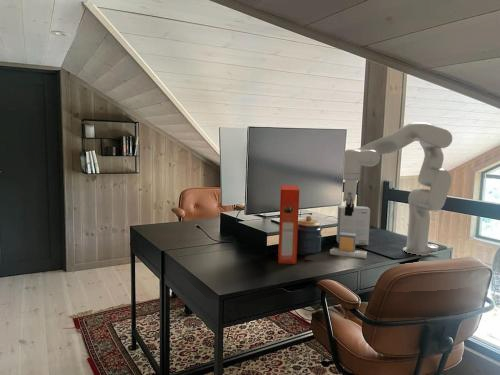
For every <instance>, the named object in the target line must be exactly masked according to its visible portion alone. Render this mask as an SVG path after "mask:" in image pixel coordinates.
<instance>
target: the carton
mask: <svg viewBox="0 0 500 375" xmlns="http://www.w3.org/2000/svg"><path fill="white" fill-rule="evenodd" d="M355 241H356V234H354V233H345V232H341V233H340V236H339V243H338V248H339V250H342V251H350V252H355V250H356V244H355Z"/></svg>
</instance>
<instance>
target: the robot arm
mask: <svg viewBox="0 0 500 375" xmlns="http://www.w3.org/2000/svg"><path fill="white" fill-rule="evenodd" d="M414 142H419V144H420V146H421V148H422V149H423V152H424V158H423V161H422V165H421V167H420V171H419V174H418V176H417V182H418V183H419V185H421V186H422V187H425V188H414V189H412V190H411V191H410V193H409V194H408V199H407V200H408V225H407V236H406V246H405V247H403V248H402V251H403V252H404V251H405V252H407V254H408V253H411V254H410V255H412V254H416V255H415V256H419V255H421V256H422V257H425V256H426V257H427V256H430V255H431V251H432V252H436V253H437V252H439V247H437V246H436V247H435V246H430V245H429V232H430V225H431V224H430V222H431V214H430V212H438V211H441V209H442V208H443V207H444V206H445V203H446V200H447V198H448V194H449V192H450V188H451V185H452V174H451V173H450V172H449V170H447V169H445V168H442V167H443V162H444V153H443V150H442V149H445V148H448V147H449V146H450V145H451V144H452V142H453V135H452V133H451V132H450V131H449V130H448V129H445V128H442V127H439V126H436V125H433V124H431V123H427V122H410V123H408V124H406V125H405V124H404V126H402V127H400V128H398V129H397V130H395V131H393V132H391V133H389V134H388V135H386V136H383V137H380V138H378V139H376V140H373V141H370V142H368V143H367V144H364V145H362V146H361V147H359V148H358V149H347V150H344V154H343V155H344V156H343V170H342V171H343V172H342V180H343V181H344V186H343V197H342V198H343V199H342V202H344V203H345V206H346V207H345V216H352V212H354V206H355V204H354V203H355V201H356V196H357V186H358V184H357V183H358V182H359V181H361V180H360V179H361V167H362V166H363V167H364V166H365V167H374V166H376V165H378V164H379V163H380V160H381V155H387V154H392V153H395V152H396V153H397V152H398V151H400V150H402V149H403V148H405V147H407V146H408V145H410V144H412V143H414ZM426 188H427V189H426ZM428 188H429V189H428ZM405 252H404V253H405Z"/></svg>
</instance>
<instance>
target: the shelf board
mask: <svg viewBox="0 0 500 375" xmlns="http://www.w3.org/2000/svg"><path fill="white" fill-rule="evenodd" d="M367 253H368V251H365V250H356V249H355V252H350V251H342V250H339V247H332V248H331V249H329V255H334V256H340V257H342V256H343V257H350V258H356V259H357V258H359V259H367Z"/></svg>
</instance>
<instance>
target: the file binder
mask: <svg viewBox="0 0 500 375" xmlns="http://www.w3.org/2000/svg"><path fill="white" fill-rule="evenodd" d="M279 192H280V195H279V220H278V221H279V225H278V230H279V231H278V253H277V254H278V256H277V258H278V260H277V261H278V264H289V265H290V264H291V265H293V264H294V265H295V264H297V260H298V258H297V257H298V254H297V238H298V221H299V211H300V210H299V209H300V207H299V206H300V188H299V186H298V185H295V184H293V185H290V184H289V185H288V184H287V185H286V184H281V185H280V191H279Z"/></svg>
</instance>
